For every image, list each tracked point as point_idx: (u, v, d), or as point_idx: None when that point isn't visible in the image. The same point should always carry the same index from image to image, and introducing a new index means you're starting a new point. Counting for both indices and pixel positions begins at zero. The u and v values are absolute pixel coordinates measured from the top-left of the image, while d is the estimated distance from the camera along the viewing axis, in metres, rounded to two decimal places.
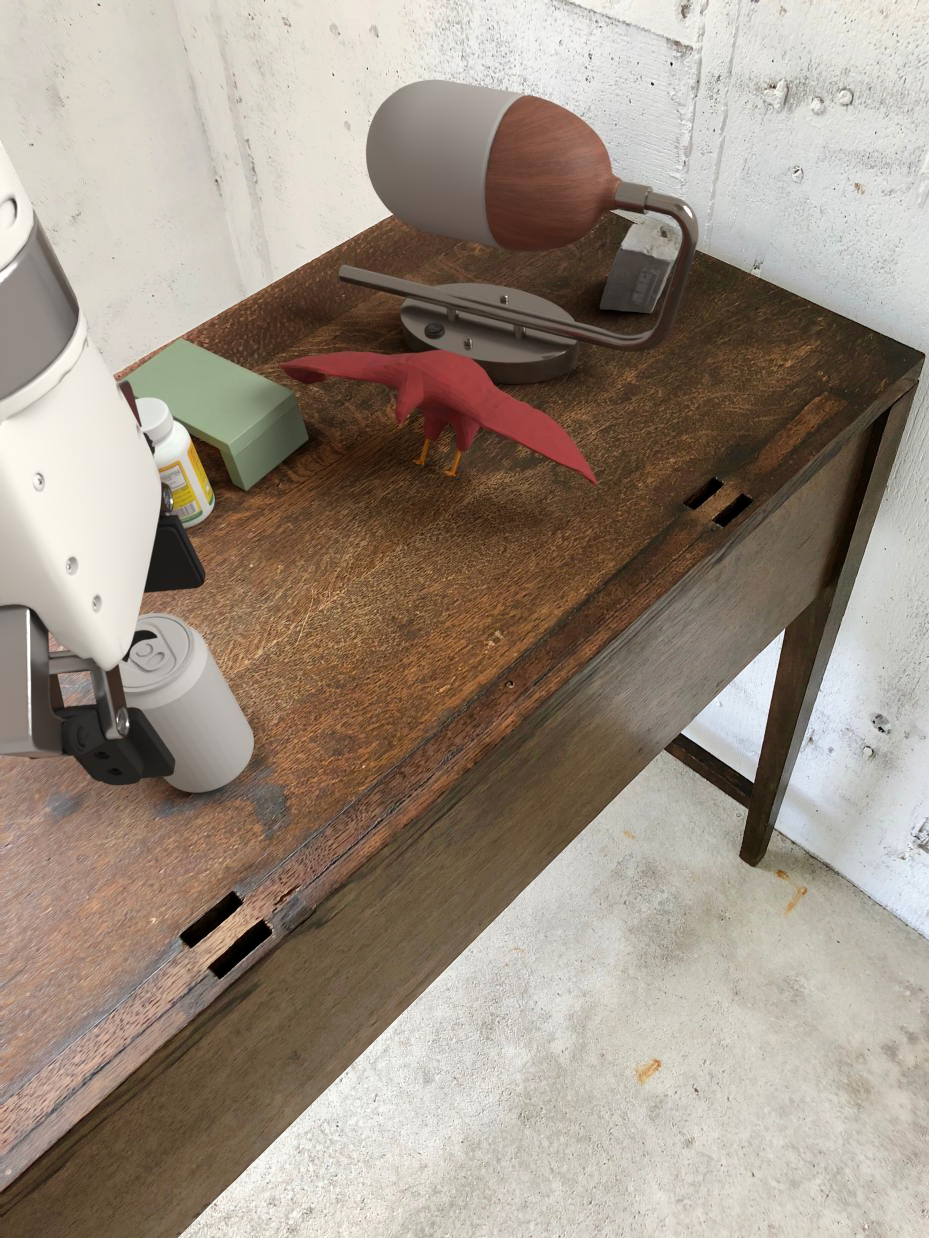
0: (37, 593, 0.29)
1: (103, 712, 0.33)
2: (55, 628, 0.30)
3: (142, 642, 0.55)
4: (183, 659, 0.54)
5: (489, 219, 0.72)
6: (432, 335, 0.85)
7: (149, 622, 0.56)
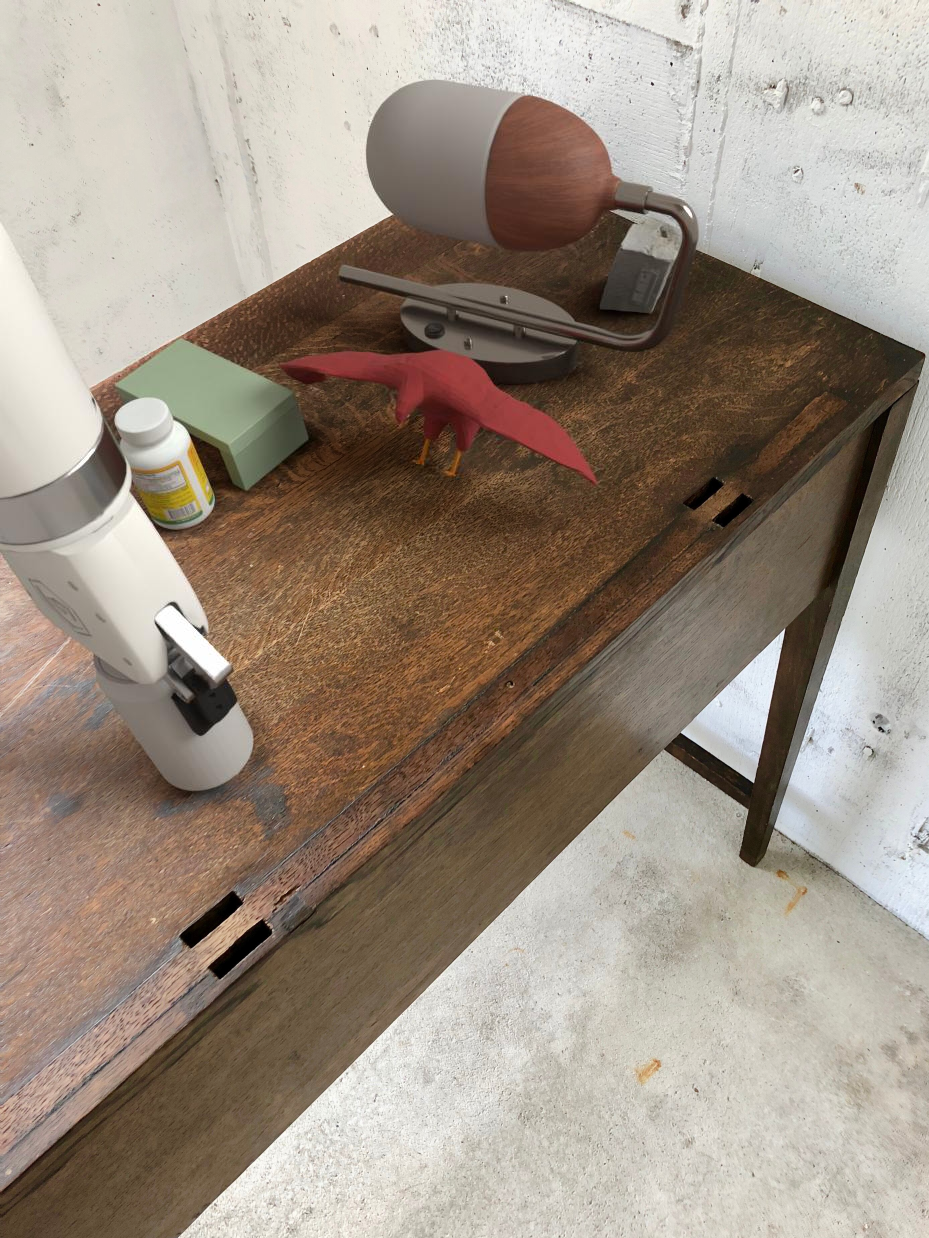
0: (176, 589, 0.48)
1: None
2: (186, 611, 0.49)
3: None
4: None
5: (489, 219, 0.72)
6: (432, 335, 0.85)
7: None
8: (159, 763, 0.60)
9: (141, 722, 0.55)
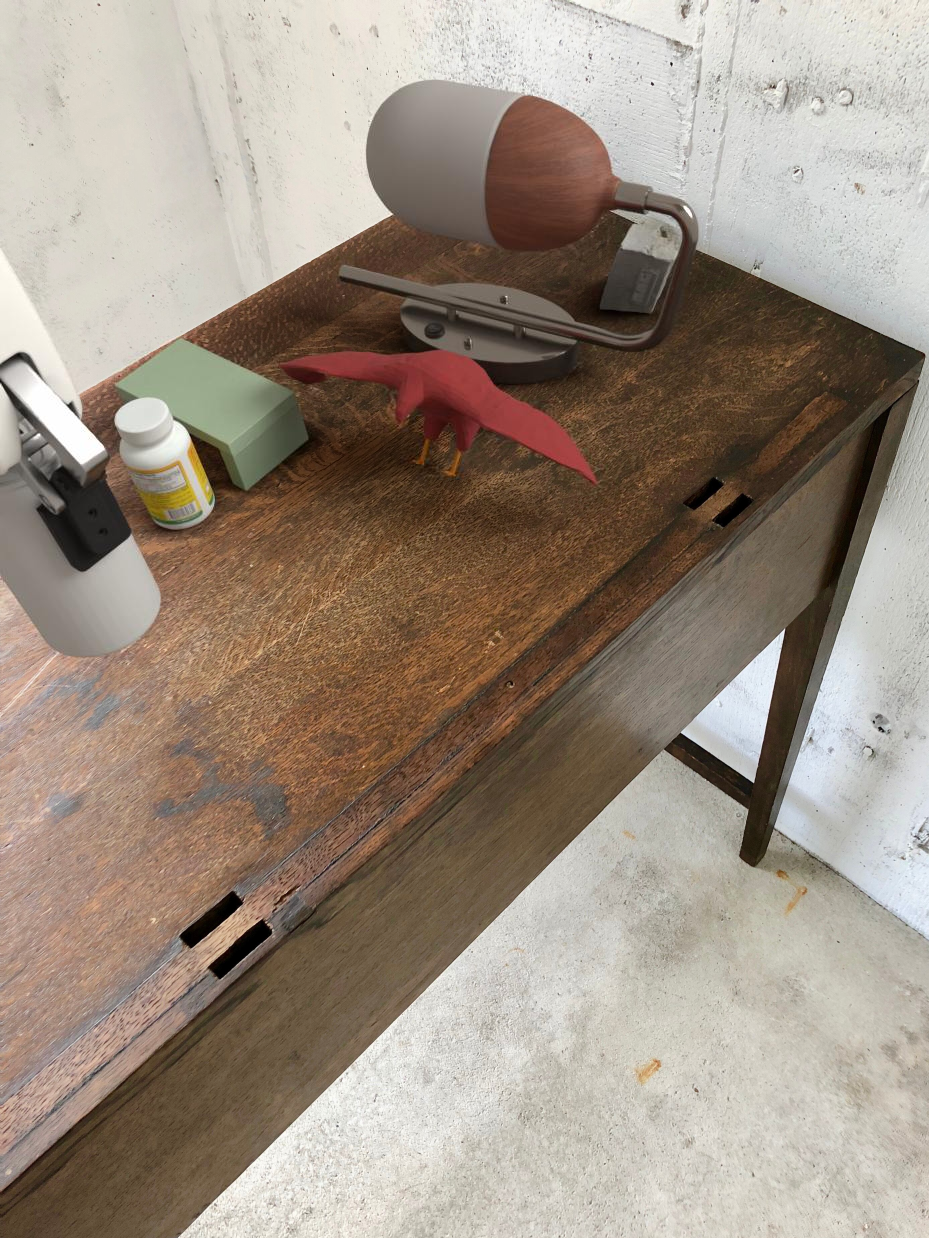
0: (28, 335, 0.36)
1: None
2: (45, 372, 0.37)
3: None
4: (52, 455, 0.42)
5: (489, 219, 0.72)
6: (432, 335, 0.85)
7: None
8: (35, 616, 0.47)
9: (2, 548, 0.43)
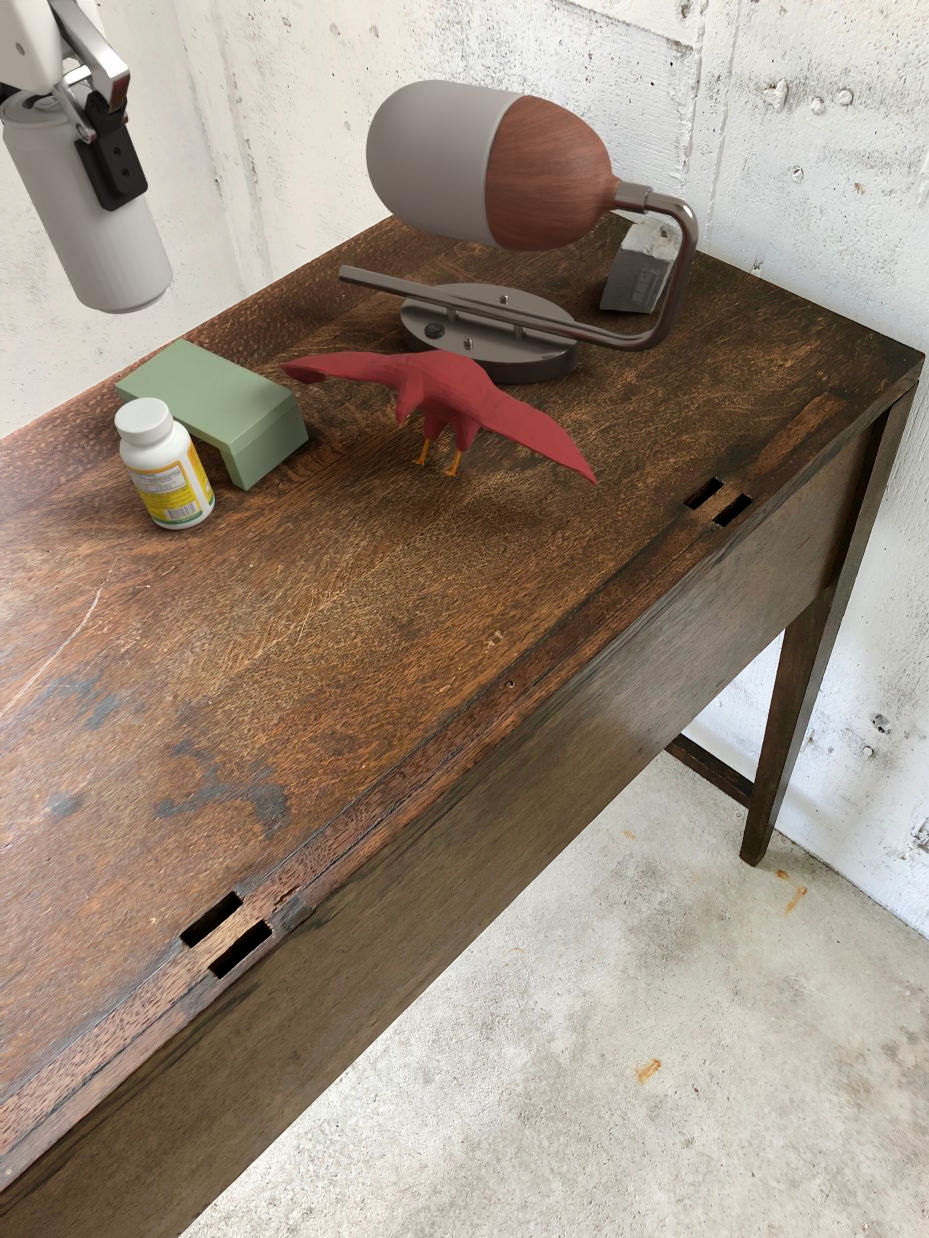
0: None
1: None
2: (81, 4, 0.48)
3: (47, 97, 0.55)
4: None
5: (489, 219, 0.72)
6: (432, 335, 0.85)
7: None
8: (72, 265, 0.59)
9: (47, 186, 0.55)
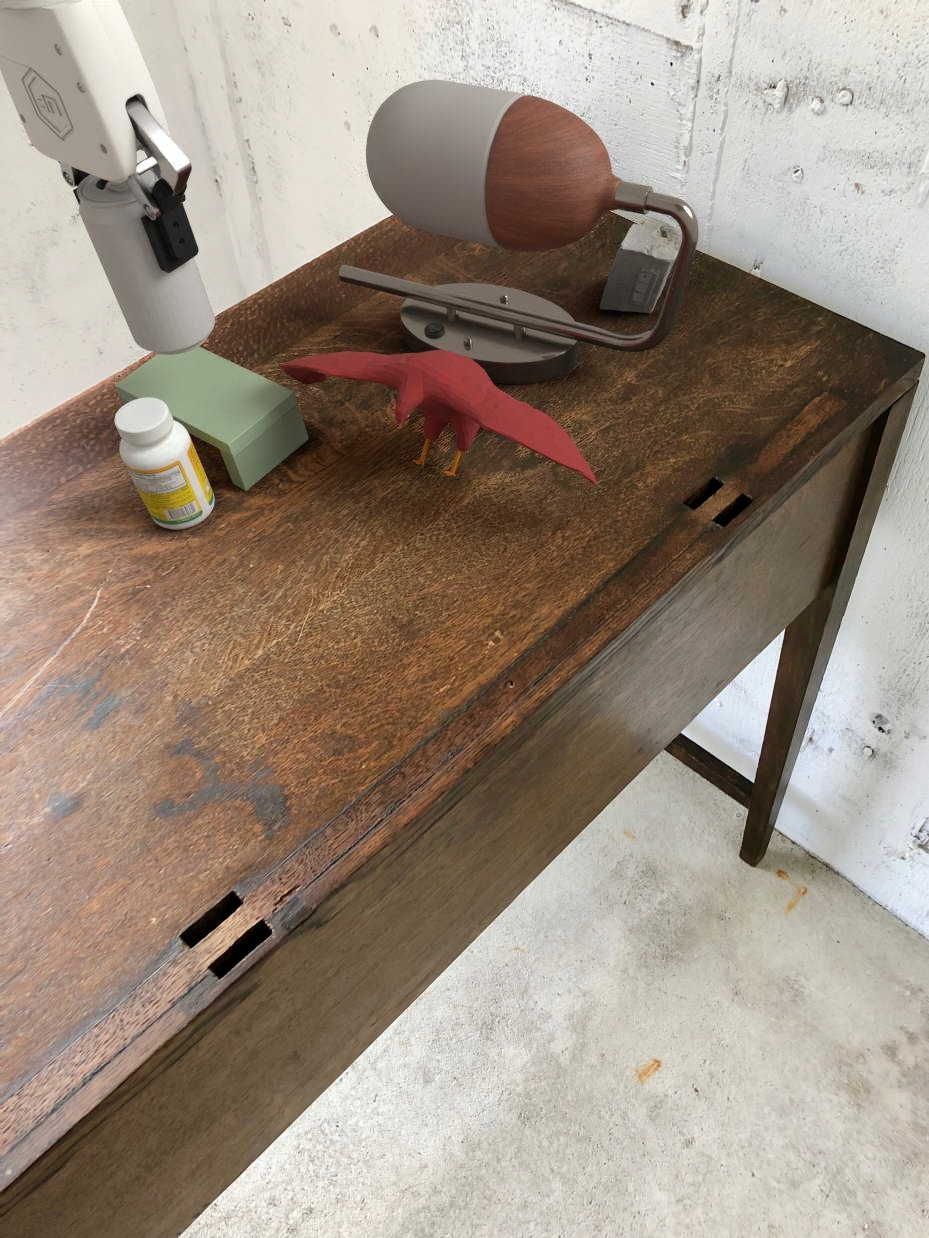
0: (143, 83, 0.58)
1: None
2: (152, 111, 0.59)
3: None
4: (150, 185, 0.65)
5: (489, 219, 0.72)
6: (432, 335, 0.85)
7: None
8: (133, 315, 0.70)
9: (116, 252, 0.66)
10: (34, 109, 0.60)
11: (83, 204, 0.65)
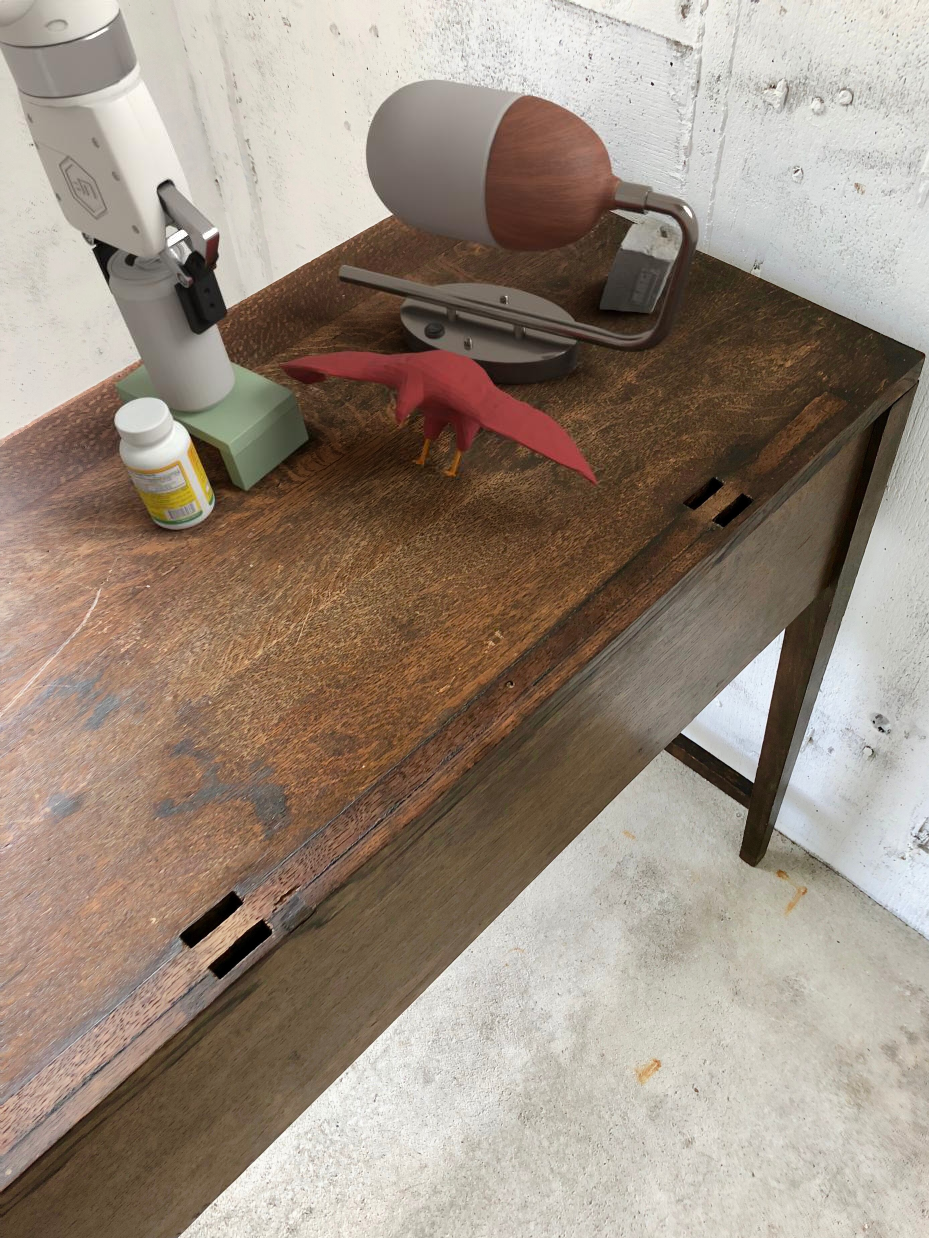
0: (173, 169, 0.63)
1: None
2: (180, 194, 0.64)
3: None
4: None
5: (489, 219, 0.72)
6: (432, 335, 0.85)
7: None
8: (159, 378, 0.74)
9: (145, 324, 0.70)
10: (70, 190, 0.65)
11: (113, 280, 0.69)
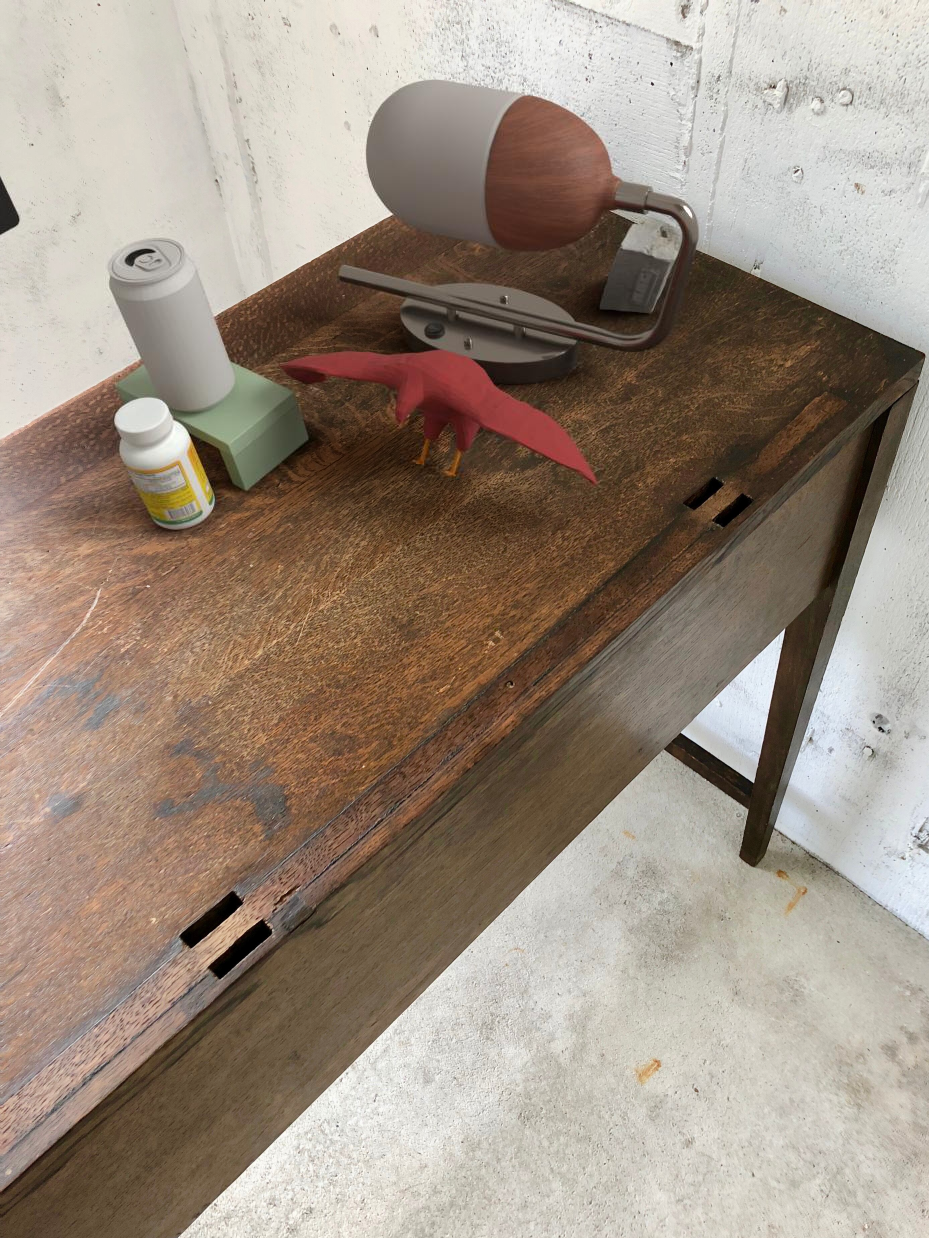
0: None
1: None
2: None
3: (144, 255, 0.70)
4: (176, 263, 0.69)
5: (489, 219, 0.72)
6: (432, 335, 0.85)
7: (149, 244, 0.70)
8: (159, 378, 0.74)
9: (145, 325, 0.70)
10: None
11: (113, 280, 0.69)
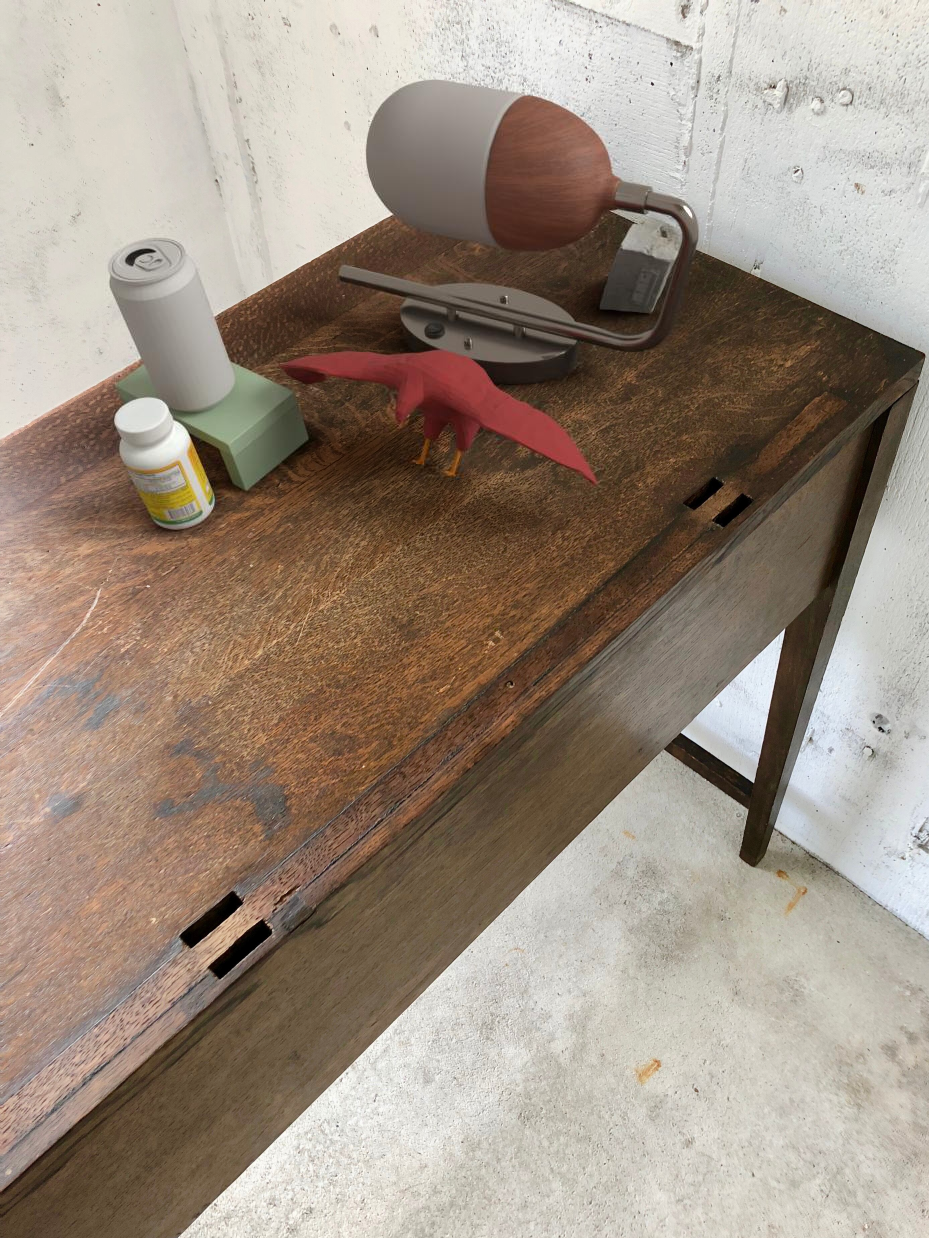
0: None
1: None
2: None
3: (144, 255, 0.70)
4: (176, 263, 0.69)
5: (489, 219, 0.72)
6: (432, 335, 0.85)
7: (150, 243, 0.71)
8: (159, 378, 0.74)
9: (145, 324, 0.70)
10: None
11: (114, 280, 0.69)
